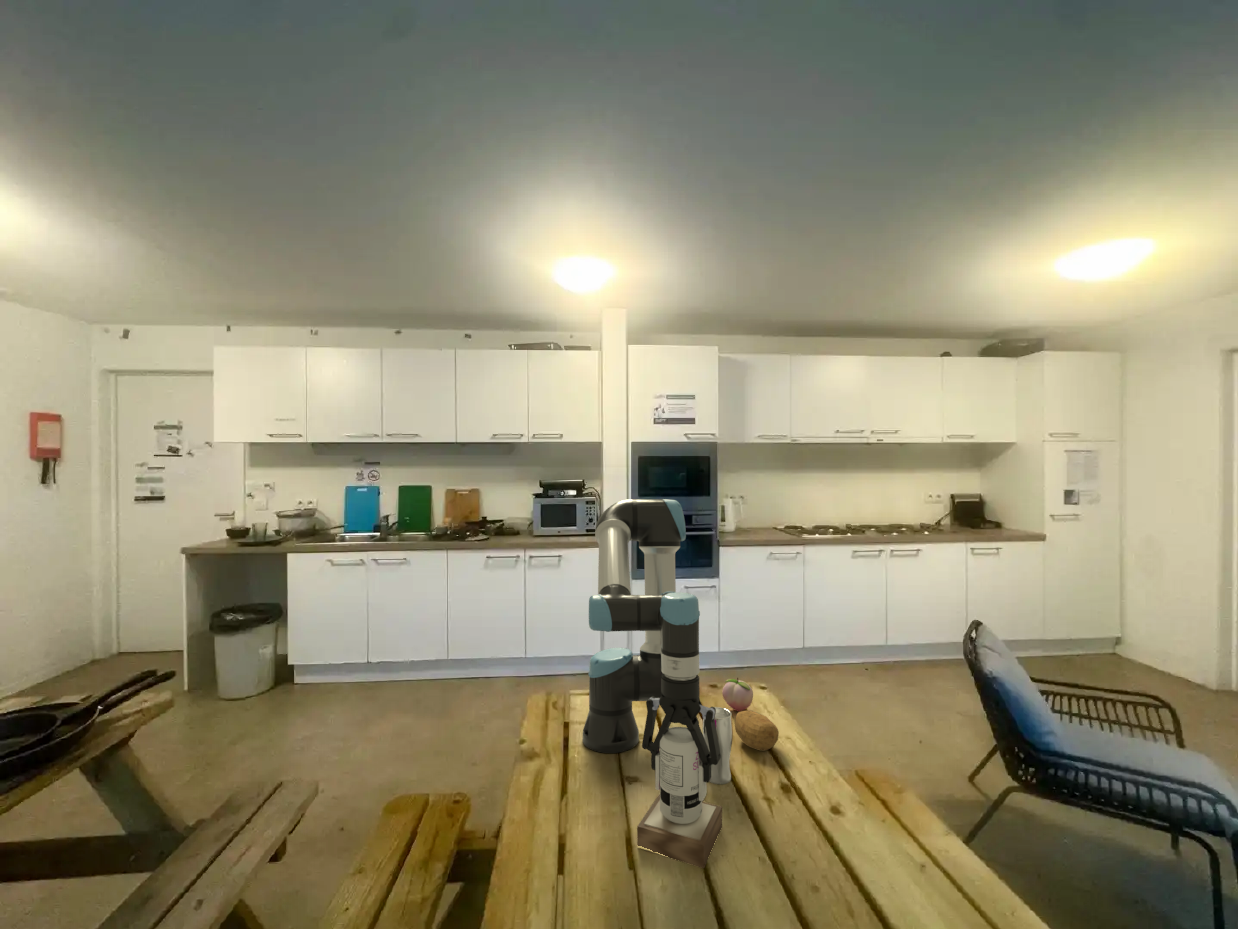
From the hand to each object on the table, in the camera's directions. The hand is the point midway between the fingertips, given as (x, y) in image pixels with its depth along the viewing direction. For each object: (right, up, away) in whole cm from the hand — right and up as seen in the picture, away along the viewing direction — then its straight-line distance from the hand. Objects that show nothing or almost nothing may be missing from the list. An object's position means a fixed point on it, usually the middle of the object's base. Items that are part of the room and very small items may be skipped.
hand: (680, 791), depth 106 cm
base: (0, -9, 0) cm, 9 cm away
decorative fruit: (+24, -11, +58) cm, 64 cm away
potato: (+24, -10, +36) cm, 44 cm away
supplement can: (0, -4, 0) cm, 4 cm away
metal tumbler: (+11, -10, +21) cm, 26 cm away
